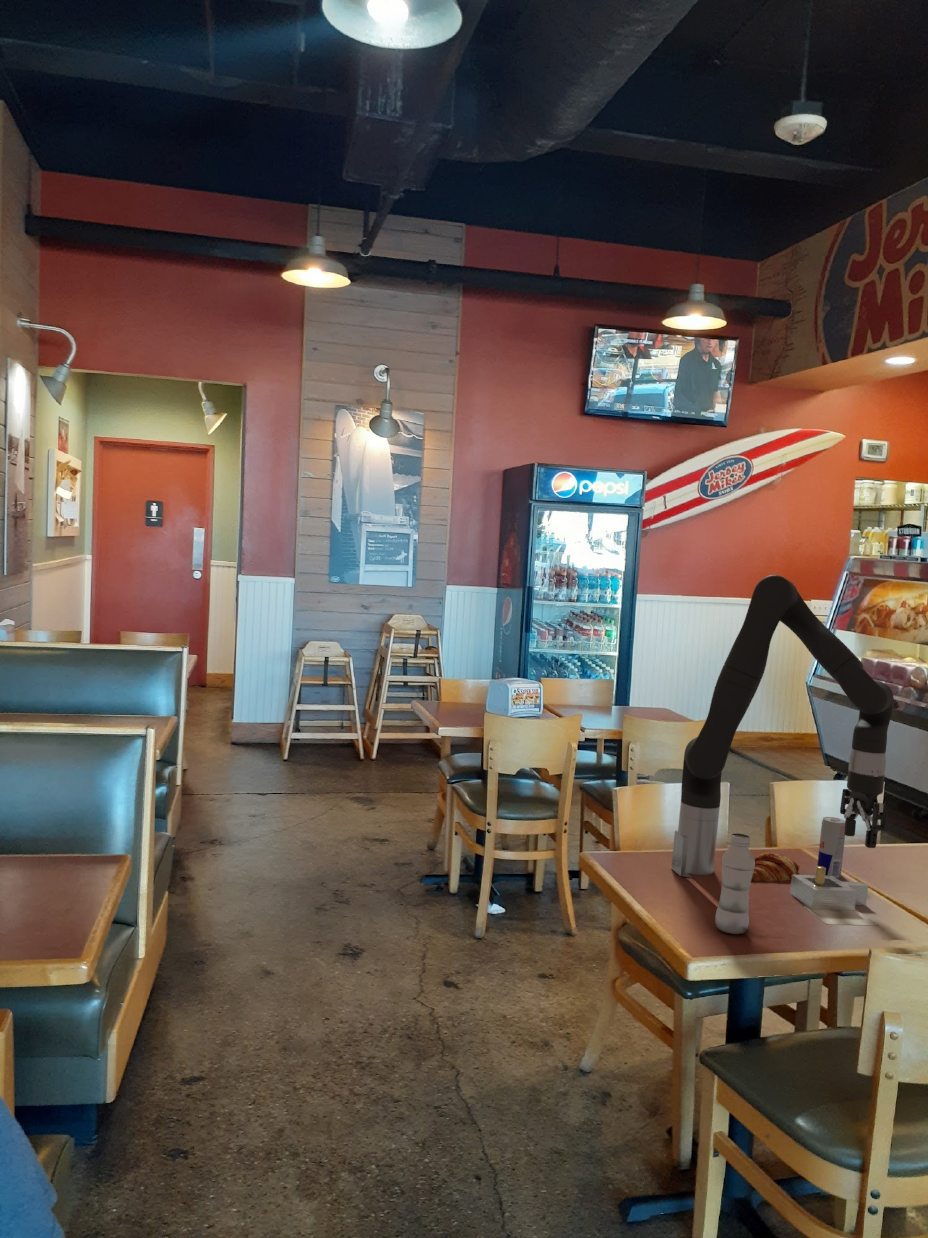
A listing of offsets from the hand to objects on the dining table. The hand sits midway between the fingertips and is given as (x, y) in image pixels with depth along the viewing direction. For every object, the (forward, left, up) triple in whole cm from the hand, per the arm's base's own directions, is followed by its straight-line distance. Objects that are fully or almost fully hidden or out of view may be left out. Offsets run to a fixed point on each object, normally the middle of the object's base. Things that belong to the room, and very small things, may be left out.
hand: (859, 841), depth 209 cm
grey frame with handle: (-5, 0, -14) cm, 15 cm away
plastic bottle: (-36, -16, -16) cm, 42 cm away
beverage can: (+5, +20, -16) cm, 26 cm away
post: (-9, 0, -14) cm, 17 cm away
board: (-7, -4, -15) cm, 18 cm away
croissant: (-10, +19, -16) cm, 26 cm away
